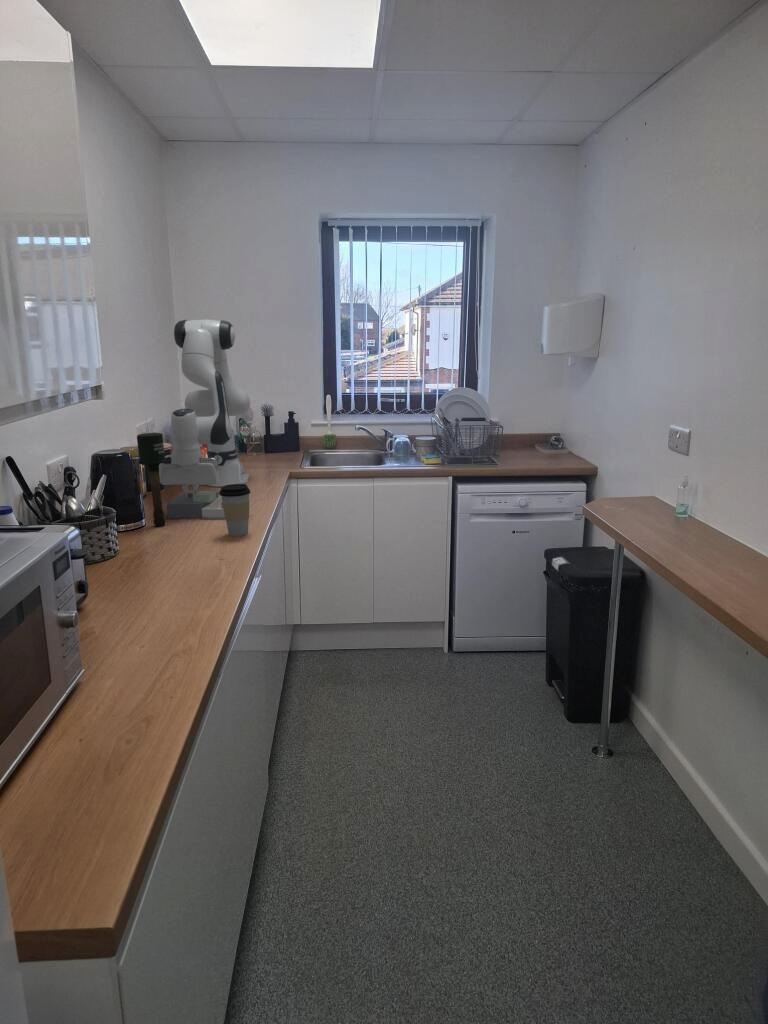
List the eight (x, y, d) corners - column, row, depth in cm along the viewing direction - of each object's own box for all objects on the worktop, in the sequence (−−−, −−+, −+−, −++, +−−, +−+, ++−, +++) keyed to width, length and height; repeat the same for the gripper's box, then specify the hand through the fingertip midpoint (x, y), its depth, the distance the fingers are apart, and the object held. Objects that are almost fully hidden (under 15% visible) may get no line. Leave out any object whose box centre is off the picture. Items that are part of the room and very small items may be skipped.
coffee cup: (259, 530, 210) (255, 484, 206) (243, 539, 202) (239, 490, 198) (233, 528, 213) (229, 482, 209) (216, 536, 205) (212, 489, 201)
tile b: (199, 498, 233) (198, 491, 233) (216, 498, 233) (215, 491, 232) (193, 502, 228) (192, 495, 227) (210, 502, 227) (209, 495, 226)
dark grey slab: (187, 505, 245) (186, 491, 244) (219, 505, 244) (218, 491, 242) (167, 518, 227) (166, 504, 226) (202, 518, 226) (200, 504, 225)
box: (221, 504, 245) (220, 495, 244) (248, 504, 244) (247, 495, 243) (202, 519, 225) (201, 509, 224) (231, 519, 224) (230, 509, 224)
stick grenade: (165, 529, 214) (154, 436, 206) (140, 528, 216) (129, 436, 208) (178, 522, 222) (168, 432, 214) (154, 521, 224) (144, 432, 216)
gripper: (220, 455, 229) (223, 495, 232) (162, 456, 231) (167, 495, 234) (214, 459, 222) (217, 499, 226) (155, 459, 224) (159, 499, 228)
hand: (191, 497), depth 230 cm, fingers closed
